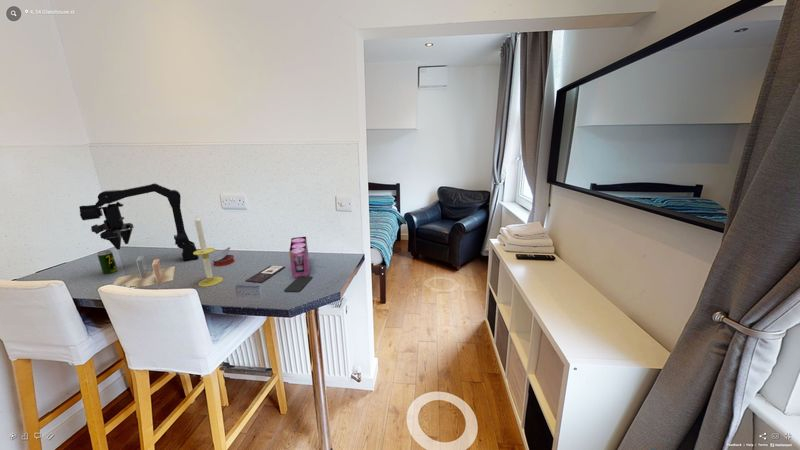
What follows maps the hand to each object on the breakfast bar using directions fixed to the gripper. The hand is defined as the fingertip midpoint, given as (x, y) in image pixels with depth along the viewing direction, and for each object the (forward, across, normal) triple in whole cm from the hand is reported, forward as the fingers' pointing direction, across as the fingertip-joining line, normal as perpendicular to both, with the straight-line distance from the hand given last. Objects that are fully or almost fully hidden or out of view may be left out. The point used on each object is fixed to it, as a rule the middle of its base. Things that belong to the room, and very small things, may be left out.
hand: (122, 246), depth 145 cm
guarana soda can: (+14, -2, -9) cm, 17 cm away
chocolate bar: (+15, +36, +65) cm, 76 cm away
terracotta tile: (+14, +19, +18) cm, 30 cm away
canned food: (+15, +8, +43) cm, 46 cm away
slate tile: (+14, +10, +9) cm, 19 cm away
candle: (+15, +33, +41) cm, 55 cm away
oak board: (+14, +15, +10) cm, 23 cm away
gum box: (+15, +36, +81) cm, 90 cm away
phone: (+15, +55, +78) cm, 97 cm away
